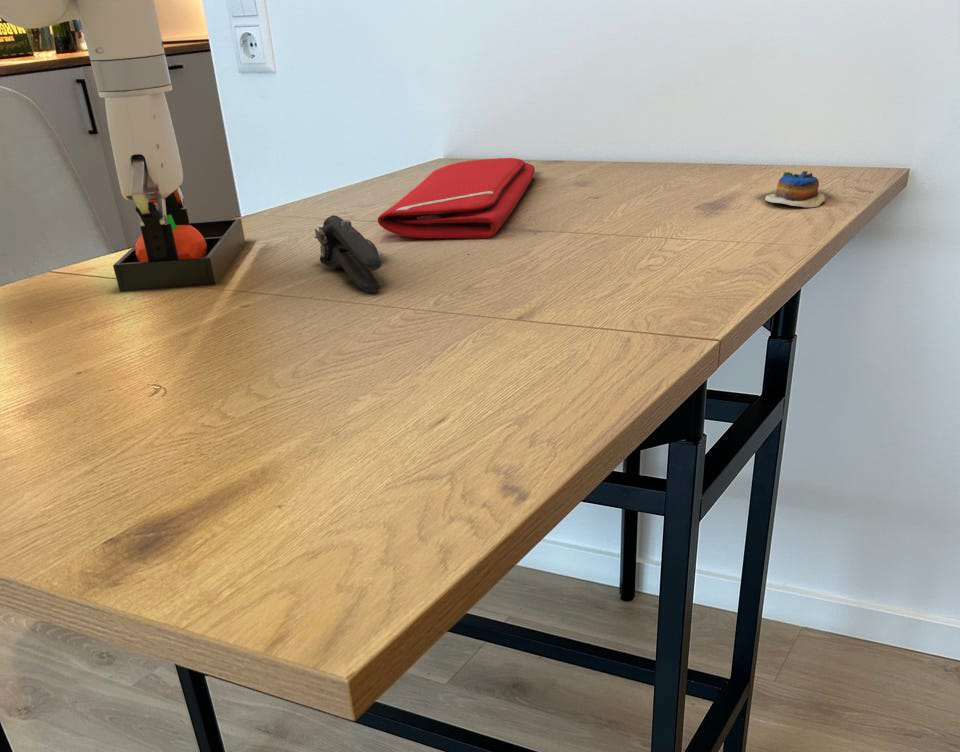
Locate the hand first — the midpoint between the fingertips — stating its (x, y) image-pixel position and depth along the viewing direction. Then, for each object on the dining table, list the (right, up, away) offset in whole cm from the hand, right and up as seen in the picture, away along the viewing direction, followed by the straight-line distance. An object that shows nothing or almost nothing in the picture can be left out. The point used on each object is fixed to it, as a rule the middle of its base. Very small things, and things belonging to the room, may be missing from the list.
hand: (172, 253), depth 114 cm
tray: (0, 0, +6) cm, 6 cm away
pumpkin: (0, -2, +1) cm, 3 cm away
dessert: (+76, +12, +15) cm, 78 cm away
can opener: (+21, -3, -2) cm, 22 cm away
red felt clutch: (+33, +17, +27) cm, 46 cm away
